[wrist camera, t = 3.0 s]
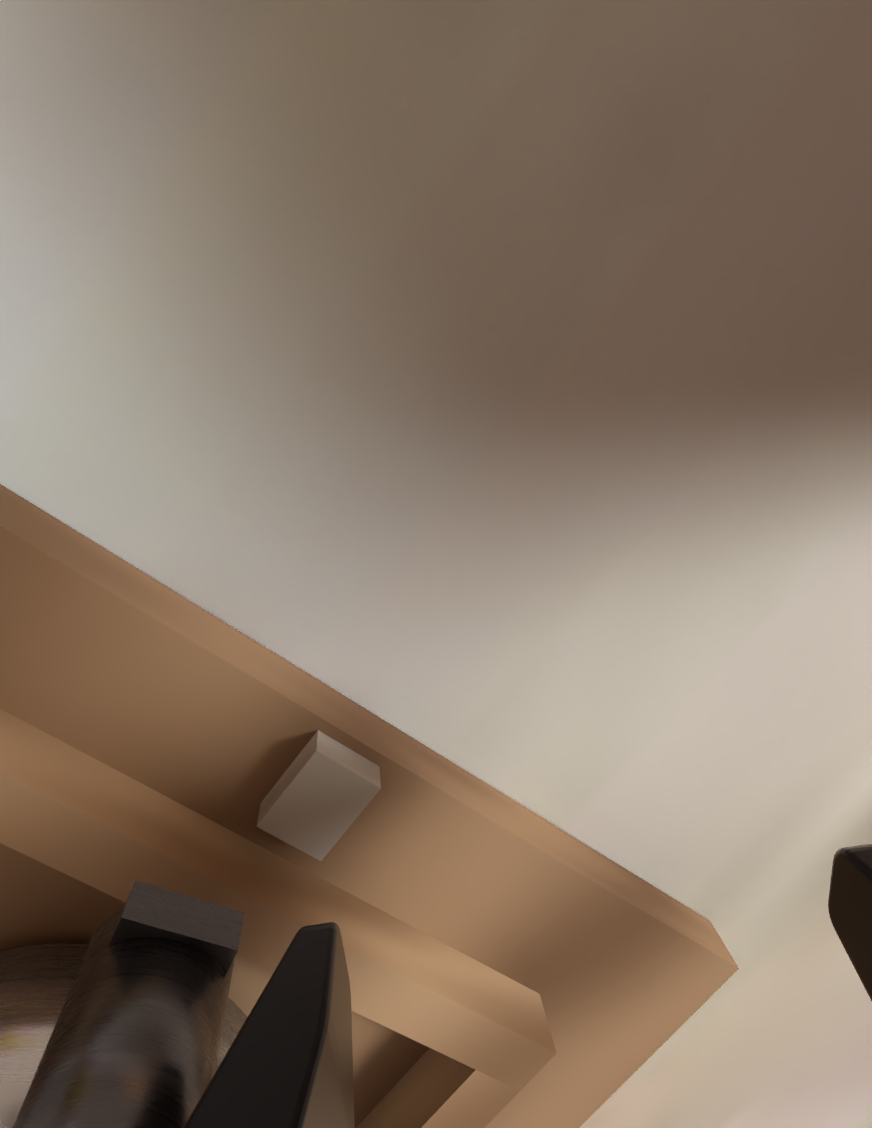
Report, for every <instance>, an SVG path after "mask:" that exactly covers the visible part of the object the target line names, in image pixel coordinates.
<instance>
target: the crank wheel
mask: <svg viewBox="0 0 872 1128" xmlns="http://www.w3.org/2000/svg"><path fill="white" fill-rule="evenodd" d="M243 919H244V912H240V911H237V910H234V909H230V908H227V907H224V906H220V905H217V904H214V903H210V902H207V901H203V900H200V899H197V898H193V897H190V896H187V895H183V894H180V893H176V892H173V891H170V890H166V889H163V888H160V887H156V886H153V885H150V884H146V883H143V882H139V881H136V880H135V882H134V885H133V887H132V889H131V891H130V893H129V896H128V898H127V900H126V902H125V905H124V907H123V908H121V909H119V910H118V911H116V912H114V913H113V914H111V915H110V916H109V917H107V918H106V919H105V920H104V921H103V922H102V923H101V924H100V925H99V927H98V928H97V929H96V931H95V932H94V934H93V936H92V938H91V940H90V943H89V944H68V943H53V944H41V945H30V946H22V947H17V948H11V949H6V950H1V951H0V1128H183V1127H184V1126H185V1124H186V1122H187V1120H188V1119H189V1117H190V1115H191V1114H192V1112H193V1110H194V1108H195V1107H196V1105H197V1103H198V1102H199V1100H200V1098H201V1096H202V1095H203V1093H204V1091H205V1090H206V1088H207V1086H208V1084H209V1083H210V1081H211V1079H212V1077H213V1076H214V1074H215V1072H216V1071H217V1069H218V1067H219V1065H220V1064H221V1062H222V1060H223V1059H224V1057H225V1055H226V1053H227V1052H228V1050H229V1048H230V1047H231V1045H232V1043H233V1041H234V1040H235V1038H236V1036H237V1034H238V1033H239V1031H240V1029H241V1028H242V1026H243V1024H244V1022H245V1021H246V1019H247V1015H246V1014H245V1013H244V1012H243V1011H242V1010H241V1009H240V1008H239V1007H238V1006H237V1005H236V1004H235V1003H234V1002H233V1001H232V1000H231V999H230V998H228V995H229V989H230V984H231V978H232V972H233V967H234V960H235V955H236V953H237V952H238V948H239V942H240V936H241V930H242V925H243Z"/></svg>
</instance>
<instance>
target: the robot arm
mask: <svg viewBox="0 0 872 1128" xmlns="http://www.w3.org/2000/svg"><path fill="white" fill-rule="evenodd" d="M828 907H829V914H830V918H831V921H832V924H833V926H834V928H835V931H836V933H837V934H838V936H839V938H840V940H841V942H842V944H843V946H844V948H845V950H846V952H847V954H848V956H849V958H850V960H851V962H852V964H853V966H854V968H855V970H856V972H857V973H858V975H859V977H860V979H861V981H862V983H863V985H864V987H865V989H866V991H867V993H868V995H869V997H870V999H871V1001H872V845H871V844H867V845H860V846H853V847H846V848H841V849H839V850H838V851H837V852H836V854H835V855H834V859H833V866H832V875H831V883H830V892H829V901H828ZM183 1128H355V1125H354V1088H353V1051H352V1014H351V990H350V980H349V974H348V969H347V964H346V958H345V953H344V948H343V942H342V937H341V932H340V928H339V926H338V925H337V924H336V923H334V922H328V923H321V924H314V925H307V926H303V927H302V928H300V929H299V930H298V932H297V933H296V935H295V936H294V938H293V940H292V942H291V943H290V945H289V947H288V948H287V950H286V952H285V954H284V955H283V957H282V959H281V961H280V962H279V964H278V966H277V967H276V969H275V971H274V973H273V974H272V976H271V978H270V979H269V981H268V983H267V985H266V986H265V988H264V990H263V991H262V993H261V995H260V997H259V998H258V1000H257V1002H256V1004H255V1005H254V1007H253V1009H252V1010H251V1012H250V1014H249V1016H248V1017H247V1019H246V1021H245V1022H244V1024H243V1026H242V1028H241V1029H240V1031H239V1033H238V1034H237V1036H236V1038H235V1040H234V1041H233V1043H232V1045H231V1047H230V1048H229V1050H228V1052H227V1053H226V1055H225V1057H224V1059H223V1060H222V1062H221V1064H220V1065H219V1067H218V1069H217V1071H216V1072H215V1074H214V1076H213V1077H212V1079H211V1081H210V1083H209V1084H208V1086H207V1088H206V1090H205V1091H204V1093H203V1095H202V1096H201V1098H200V1100H199V1102H198V1103H197V1105H196V1107H195V1108H194V1110H193V1112H192V1114H191V1115H190V1117H189V1119H188V1120H187V1122H186V1124H185V1126H184V1127H183Z"/></svg>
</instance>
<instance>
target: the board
mask: <svg viewBox="0 0 872 1128" xmlns="http://www.w3.org/2000/svg"><path fill="white" fill-rule="evenodd" d="M135 880H136V881H139V882H143V883H146V884H150V885H153V886H156V887H160V888H163V889H166V890H170V891H173V892H176V893H180V894H183V895H187V896H190V897H193V898H197V899H200V900H203V901H207V902H210V903H214V904H217V905H220V906H224V907H227V908H230V909H234V910H237V911H240V912H244V919H243V925H242V930H241V936H240V942H239V948H238V952H237V953H236V955H235V960H234V967H233V972H232V978H231V984H230V989H229V995H228V998H230V999H231V1000H232V1001H233V1002H234V1003H235V1004H236V1005H237V1006H238V1007H239V1008H240V1009H241V1010H242V1011H243V1012H244V1013H245V1014H246V1015H247V1017H248V1016H249V1014H250V1012H251V1010H252V1009H253V1007H254V1005H255V1004H256V1002H257V1000H258V998H259V997H260V995H261V993H262V991H263V990H264V988H265V986H266V985H267V983H268V981H269V979H270V978H271V976H272V974H273V973H274V971H275V969H276V967H277V966H278V964H279V962H280V961H281V959H282V957H283V955H284V954H285V952H286V950H287V948H288V947H289V945H290V943H291V942H292V940H293V938H294V936H295V935H296V933H297V932H298V930H299V929H300V928H302V927H303V926H307V925H314V924H321V923H328V922H334V923H336V924H337V925H338V926H339V928H340V932H341V937H342V942H343V948H344V953H345V958H346V964H347V969H348V974H349V980H350V990H351V1014H352V1051H353V1088H354V1125H355V1128H579V1127H580V1126H581V1125H582V1124H583V1123H584V1122H585V1121H586V1120H587V1119H588V1118H589V1117H590V1116H591V1115H592V1114H593V1113H594V1112H595V1111H596V1110H597V1109H598V1108H599V1107H600V1106H601V1105H602V1104H603V1103H604V1102H605V1101H606V1100H607V1099H608V1098H609V1097H610V1096H611V1095H612V1094H613V1093H614V1092H615V1091H616V1090H617V1089H618V1088H619V1087H620V1086H621V1085H622V1084H623V1083H624V1082H625V1081H627V1080H628V1079H629V1078H630V1077H631V1076H632V1075H633V1074H634V1073H635V1072H636V1071H637V1070H638V1069H639V1068H640V1067H641V1066H642V1065H643V1064H644V1063H645V1062H646V1061H647V1060H648V1059H649V1058H650V1057H651V1056H652V1055H653V1054H654V1053H655V1052H656V1051H657V1050H658V1049H659V1048H660V1047H661V1046H662V1045H663V1044H664V1043H665V1042H666V1041H667V1040H668V1039H669V1038H670V1037H671V1036H672V1035H673V1034H674V1033H675V1032H676V1031H677V1030H678V1029H679V1028H680V1027H681V1026H682V1025H683V1024H684V1023H685V1022H686V1021H687V1020H688V1019H689V1018H690V1017H691V1016H692V1015H693V1014H694V1013H695V1012H696V1011H697V1010H698V1009H699V1008H700V1007H701V1006H702V1005H703V1004H704V1003H705V1002H706V1001H707V1000H708V999H709V998H710V997H711V996H712V995H713V994H714V993H715V992H716V991H717V990H718V989H719V988H720V987H721V986H722V985H723V984H724V983H725V982H726V981H727V980H728V979H729V978H730V977H731V976H732V975H733V974H734V973H735V972H736V971H737V970H738V969H739V968H738V966H737V965H736V963H735V961H734V960H733V958H732V956H731V955H730V953H729V951H728V950H727V948H726V946H725V945H724V943H723V942H722V940H721V938H720V937H719V935H718V933H717V932H716V930H715V928H714V927H713V925H712V923H711V922H710V921H709V920H708V919H706V918H704V917H703V916H701V915H699V914H698V913H696V912H695V911H693V910H691V909H690V908H688V907H686V906H685V905H683V904H682V903H680V902H678V901H677V900H675V899H673V898H672V897H670V896H669V895H667V894H665V893H664V892H662V891H660V890H659V889H657V888H656V887H654V886H652V885H651V884H649V883H647V882H646V881H644V880H643V879H641V878H639V877H638V876H636V875H634V874H633V873H631V872H630V871H628V870H626V869H625V868H623V867H621V866H620V865H618V864H617V863H615V862H613V861H612V860H610V859H608V858H607V857H605V856H604V855H602V854H600V853H599V852H597V851H595V850H594V849H592V848H591V847H589V846H587V845H586V844H584V843H582V842H581V841H579V840H578V839H576V838H574V837H573V836H571V835H569V834H568V833H566V832H565V831H563V830H561V829H560V828H558V827H556V826H555V825H553V824H552V823H550V822H548V821H547V820H545V819H543V818H542V817H540V816H539V815H537V814H535V813H534V812H532V811H530V810H529V809H527V808H526V807H524V806H522V805H521V804H519V803H517V802H516V801H514V800H513V799H511V798H509V797H508V796H506V795H504V794H503V793H501V792H500V791H498V790H496V789H495V788H493V787H491V786H490V785H488V784H487V783H485V782H483V781H482V780H480V779H478V778H477V777H475V776H474V775H472V774H470V773H469V772H467V771H465V770H464V769H462V768H461V767H459V766H457V765H456V764H454V763H452V762H451V761H449V760H448V759H446V758H444V757H443V756H441V755H439V754H438V753H436V752H435V751H433V750H431V749H430V748H428V747H426V746H425V745H423V744H422V743H420V742H418V741H417V740H415V739H413V738H412V737H410V736H409V735H407V734H405V733H404V732H402V731H400V730H399V729H397V728H396V727H394V726H392V725H391V724H389V723H387V722H386V721H384V720H383V719H381V718H379V717H378V716H376V715H374V714H373V713H371V712H370V711H368V710H366V709H365V708H363V707H361V706H360V705H358V704H357V703H355V702H353V701H352V700H350V699H348V698H347V697H345V696H344V695H342V694H340V693H339V692H337V691H335V690H334V689H332V688H331V687H329V686H327V685H326V684H324V683H322V682H321V681H319V680H318V679H316V678H314V677H313V676H311V675H309V674H308V673H306V672H305V671H303V670H301V669H300V668H298V667H296V666H295V665H293V664H292V663H290V662H288V661H287V660H285V659H283V658H282V657H280V656H279V655H277V654H275V653H274V652H272V651H270V650H269V649H267V648H266V647H264V646H262V645H261V644H259V643H257V642H256V641H254V640H253V639H251V638H249V637H248V636H246V635H244V634H243V633H241V632H240V631H238V630H236V629H235V628H233V627H231V626H230V625H228V624H227V623H225V622H223V621H222V620H220V619H218V618H217V617H215V616H214V615H212V614H210V613H209V612H207V611H205V610H204V609H202V608H201V607H199V606H197V605H196V604H194V603H192V602H191V601H189V600H188V599H186V598H184V597H183V596H181V595H179V594H178V593H176V592H175V591H173V590H171V589H170V588H168V587H166V586H165V585H163V584H162V583H160V582H158V581H157V580H155V579H153V578H152V577H150V576H149V575H147V574H145V573H144V572H142V571H140V570H139V569H137V568H136V567H134V566H132V565H131V564H129V563H127V562H126V561H124V560H123V559H121V558H119V557H118V556H116V555H114V554H113V553H111V552H110V551H108V550H106V549H105V548H103V547H101V546H100V545H98V544H97V543H95V542H93V541H92V540H90V539H88V538H87V537H85V536H84V535H82V534H80V533H79V532H77V531H75V530H74V529H72V528H71V527H69V526H67V525H66V524H64V523H62V522H61V521H59V520H58V519H56V518H54V517H53V516H51V515H49V514H48V513H46V512H45V511H43V510H41V509H40V508H38V507H36V506H35V505H33V504H32V503H30V502H28V501H27V500H25V499H23V498H22V497H20V496H19V495H17V494H15V493H14V492H12V491H10V490H9V489H7V488H6V487H4V486H2V485H1V484H0V951H1V950H6V949H11V948H17V947H22V946H30V945H41V944H53V943H68V944H89V943H90V940H91V938H92V936H93V934H94V932H95V931H96V929H97V928H98V927H99V925H100V924H101V923H102V922H103V921H104V920H105V919H106V918H107V917H109V916H110V915H111V914H113V913H114V912H116V911H118V910H119V909H121V908H123V907H124V905H125V902H126V900H127V898H128V896H129V893H130V891H131V889H132V887H133V885H134V882H135Z"/></svg>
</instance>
